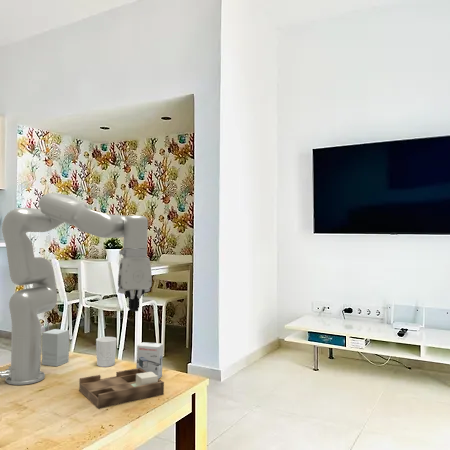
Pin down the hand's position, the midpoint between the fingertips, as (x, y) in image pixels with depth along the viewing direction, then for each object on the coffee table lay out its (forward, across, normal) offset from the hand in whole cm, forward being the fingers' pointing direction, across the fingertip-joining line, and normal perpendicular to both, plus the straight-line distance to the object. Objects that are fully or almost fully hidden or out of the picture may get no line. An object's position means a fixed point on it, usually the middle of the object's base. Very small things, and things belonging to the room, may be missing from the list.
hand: (133, 310), depth 145 cm
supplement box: (+27, -11, +48) cm, 56 cm away
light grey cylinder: (+27, +5, +36) cm, 45 cm away
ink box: (+27, +13, +13) cm, 33 cm away
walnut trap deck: (+27, -2, +4) cm, 27 cm away
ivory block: (+25, +5, -1) cm, 25 cm away
